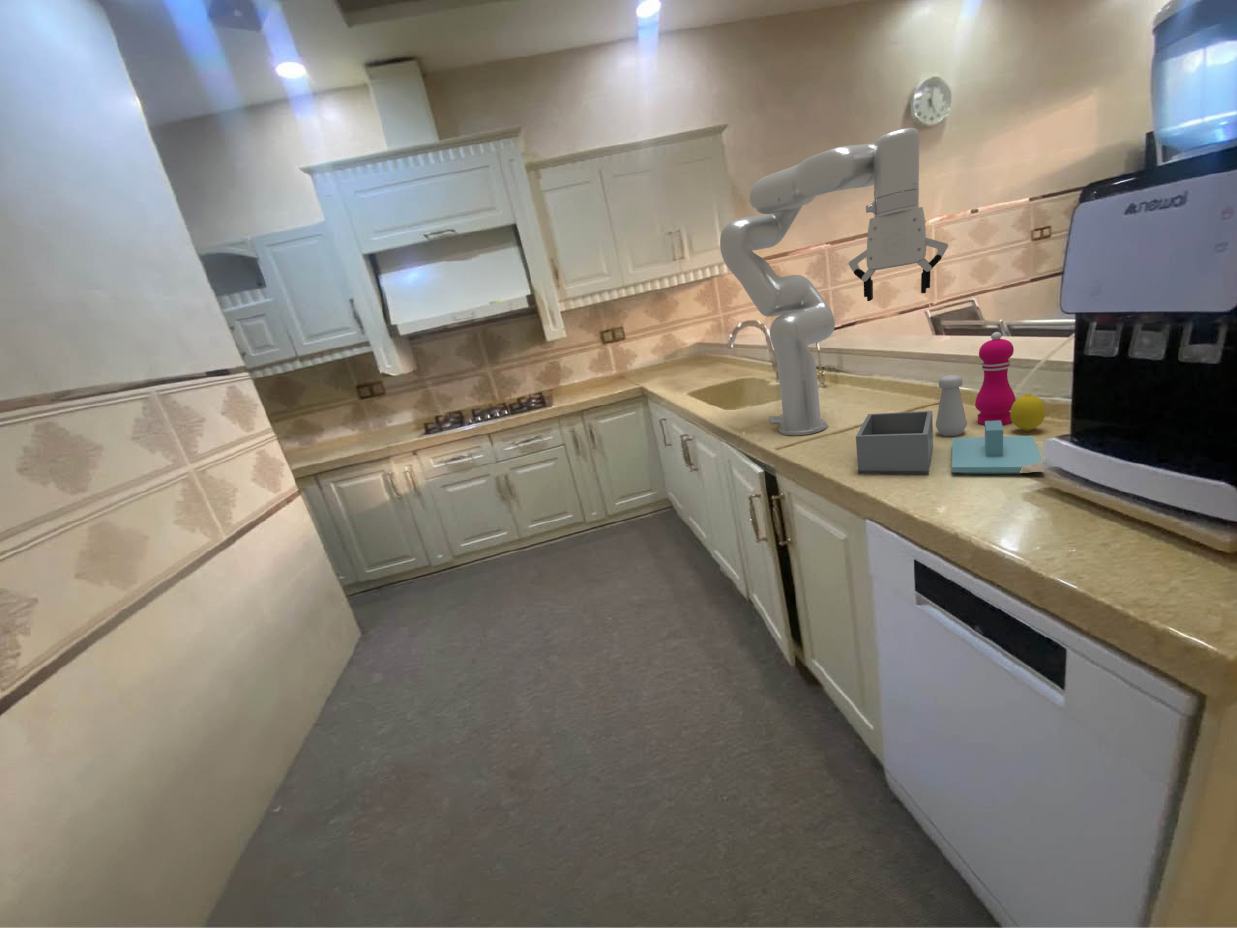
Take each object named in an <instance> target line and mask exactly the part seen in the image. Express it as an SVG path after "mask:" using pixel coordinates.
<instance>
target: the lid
mask: <svg viewBox="0 0 1237 928" xmlns="http://www.w3.org/2000/svg"><path fill="white" fill-rule="evenodd" d="M951 441H952V443H951V444H952V446H951V473H961V474H962V475H963V474H969V475H971V474H973V475H974V474H975V475H976V474H980V475H982V474H983V475H985V474H986V475H987V474H990V475H991V474H992V475H998V474H1001V475H1004V474H1005V475H1011V474H1012V475H1013V474H1014V475H1021V474H1020V471H1021V468H1022V467H1024V466H1028V465H1031V464H1035V463H1039V462H1041V461H1043V460H1042V456H1041V453H1040V452H1039V449H1038V446H1037V444H1036V441H1035V438H1034V436H1033V435H1015V436H1013V435H1012V436H1009V435H1008V436H1004V427H1003V425H1002V423H1001V420H999V421H985V425H984V436H983V437H980V436H979V437H978V436H977V437H952V440H951Z"/></svg>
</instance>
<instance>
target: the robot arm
mask: <svg viewBox="0 0 1237 928" xmlns="http://www.w3.org/2000/svg"><path fill="white" fill-rule="evenodd" d="M919 182H920V132H919V130H918V129H917V128H914V127H905V128H901V129H898V130H893V131H890V132H889V133H885V134H883V135H881V136H880V137H878V138H877V139H876V140H875V143H865V144H863V143H862V144H853V145H843V146H838V147H834V148H831V149H828V150H825V151H822V152H820V153H817V154H815V155H812V156H809V157H807V158H805V159H804V160H802V161H801V162H800V163H798V164H795V165H793V166H791V167H788V168H785V169H782V170H779V171H776V172H773V173H770V174H768V175H766V176H763V177H761V178H760V179H758V180H757V181H755V183H754V184H753V186H752V187H751V190H750V192H749V195H748V196H749V202H750V206H751V207H752V209H753V210H754V211H756V212H757V213H759V214H758V215H751V216H745V217H739V218H737V219H734V220H732V221H730V222H729V223H727V224H726V225H725V226H724V228H723V229H722V231H721V233H720V237H719V241H720V242H719V248H720V254H721V257H722V260H723V262H724V264H725V265H726V267H727V269H728V270H729V271H730V272H731V273H732V275H734V277H735V278H736V280H737V281H738V282H739V283H740V284H741V286H742V288H743V289H744V291H745V292H746V294H747V295H748V297H749V298H750V300H751V301H752V303H753V304H754V306H755V307H756V309H757V310H758V312H759V313H760V314H761V315H762V316H764V317H767V318H771V317H776V318H775V319H774V320H773V321H772V323H771V325H770V327H769V338H770V342H771V345H772V348H773V350H774V355H775V361H776V364H777V365H776V366H777V373H778V374H777V375H778V382H779V392H780V400H781V409H782V414H779V415H770V416H768V422H769V423H770V424H771V425H776V424H778V425H779V426H778V433H780V434H781V435H786V436H804V435H805V436H807V435H811V434H817V433H820V432H823V430H826V429H827V428H828V422H827V420H825V419H823V418H821V408H820V406H821V405H820V397H819V395H820V394H819V384H818V383H819V382H818V372H817V365H816V364H817V363H816V359H815V357H814V355H813V353H812V352H811V350H810V348H809V347H808V346H809V345H811V344H815V343H819V342H822V341H825V340H827V339H829V338H830V337H831V336H832V334H833V333H834V330H835V328H836V320H835V316H834V314H833V311H832V310H831V308H830V307H829V306H830V305H828V304H827V302H826V301H825V300H824V298H823V297H822V295H821V294H820V292H819V291H818V290H817V288H816V287H815V285H814V284H813V283H812V282H811V281H810V279H808V278H807V277H805V276H804V275H800V274H791V275H786V276H780V275H778V274H777V273H776V272H775V271H774V269H773V267H771V264H770V263H769V262H768V261H767V260H766V259H765V258H763V257H761V256H760V255H759V254H757V253H755V251H758V250H763V249H769V248H772V247H775V246H776V245H778V244H779V243H781V241H783V238H785V236H786V234H787V232H788V231H789V229H790V228H791V226H792V224H793V223H794V221H795V219H796V218H797V216H798V214H799V213H800V211H801V210H802V208H803V206H806V205H808V204H810V203H811V202H813V200H815V199H816V197H817V196H821V195H824V194H829V193H833V192H838V191H839V192H840V191H843V190H850V189H851V190H852V189H858V188H859V189H860V188H866V187H870V186H871V187H872V186H873V198H874V199H873V202H872V203H870V204H869V205H865V212H866V214H867V213H870V214H871V213H872V214H873V216H874V217H871V218H869V221H868V222H869V223H868V227H867V238H866V239H867V240H866V249H865V250H864V251H863V252H861V253H860V254H858V255H857V256H856V257H854V258H852V259H851V260H850V261H849V262H848V266H849V268H850V270H851V271H852V272H853V274H854V276H856V277H857V278H858V279H860V280H861V281H862V283H863V297H864V298H866V301H867V302H870V301H872V300H873V299H874V281H873V280H874V279H873V280H872V276H873V275H874V274H875V273H876V271H881V270H885V269H892V268H897V267H904V266H909V265H914V264H917V265H918V266H919V267H920V268H922V272H921V273H920V275H921V276H920V293H921V294H926V293H927V289H930V288H931V270H933V268H934V267H935V266H937V264H938V263H939V262H940V261H941V260H942V259H943V257H944V255H945V253H946V252H947V249H948V247H949V244H948V243H946V242H943V241H939V240H936V239H933V238H928V237H927V230H926V229H927V228H926V217H925V212H924V207H923V206H920V205H919V204H920V203H919V199H920V196H919V195H920V187H919V186H920V183H919ZM919 206H920V207H919ZM927 247H929V248H934V249H937V252H936V254H935V255H934V257H933V258H932V259H931V260H930V261H928V259H926V258H925V257H926V255H927ZM865 259H866V267H867V270H866V271H864V270H862V269H861V268H860V266H859V264H860V262H861V261H863V260H865Z"/></svg>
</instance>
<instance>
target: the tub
mask: <svg viewBox="0 0 1237 928" xmlns="http://www.w3.org/2000/svg"><path fill="white" fill-rule="evenodd" d="M855 442H856V443H855V444H856V447H855V448H856V459H857V462H856V463H857V473H858V475H892V476H893V475H896V476H897V475H901V476H903V475H904V476H905V475H907V476H912V475H913V476H922V475H923V476H929V474H930V467H931V461H932V455H933V451H934V450H933V449H934V427H933V410H921V411H920V410H919V411H902V412H885V413H884V412H883V413H882V412H881V413H868V414H867V415H866V417H865V418H864V421H863V423H862V425H861V427H860V428H859V429H858V431H857V434H856V435H855Z"/></svg>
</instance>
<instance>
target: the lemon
mask: <svg viewBox="0 0 1237 928" xmlns="http://www.w3.org/2000/svg"><path fill="white" fill-rule="evenodd" d="M1009 412H1010V417H1011V420H1012V422H1011V423H1012V424H1013V425H1014V426H1015V427H1017V428H1019V429H1022V430H1023V431H1024V432H1030V431H1031V430H1032V429H1035V428H1037V427H1039V426H1040V425H1042V423H1043V422H1044V421H1045V416H1046V406H1045V403H1044V401H1043V400H1042V399H1041V398H1040V397H1038V396H1036V395H1032V394H1031V393H1026V394H1025V395H1022V396H1020V397H1018V398H1016V401H1015V402H1014V403H1013V405H1012V407H1011V410H1010V411H1009Z"/></svg>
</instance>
